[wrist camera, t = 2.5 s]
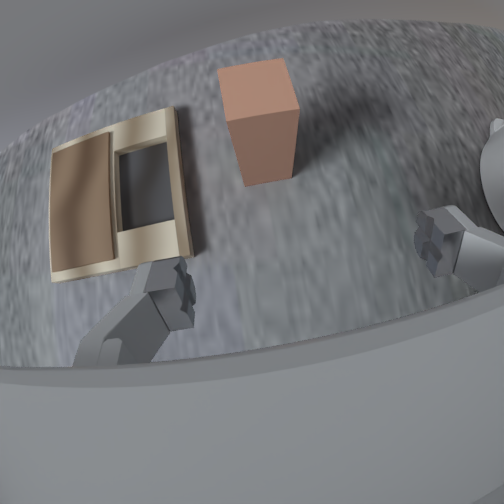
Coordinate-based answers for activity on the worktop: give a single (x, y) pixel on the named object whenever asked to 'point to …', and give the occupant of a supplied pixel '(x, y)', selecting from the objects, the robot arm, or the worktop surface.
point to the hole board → (118, 199)
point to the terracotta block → (261, 119)
